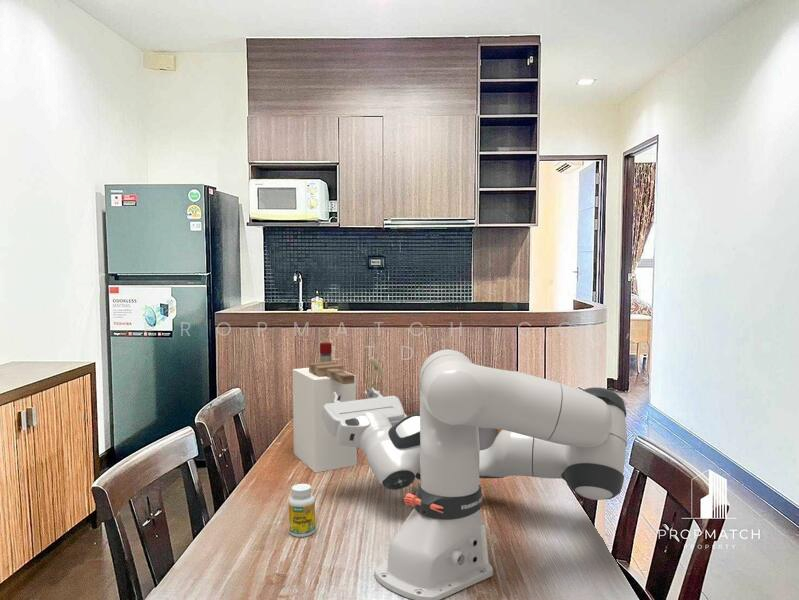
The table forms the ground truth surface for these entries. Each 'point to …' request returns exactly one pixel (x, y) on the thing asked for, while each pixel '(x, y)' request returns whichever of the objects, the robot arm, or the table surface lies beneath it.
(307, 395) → the stand
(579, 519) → the table surface
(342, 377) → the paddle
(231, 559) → the table surface
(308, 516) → the supplement bottle
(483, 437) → the pillar candle
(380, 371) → the flower in vase
